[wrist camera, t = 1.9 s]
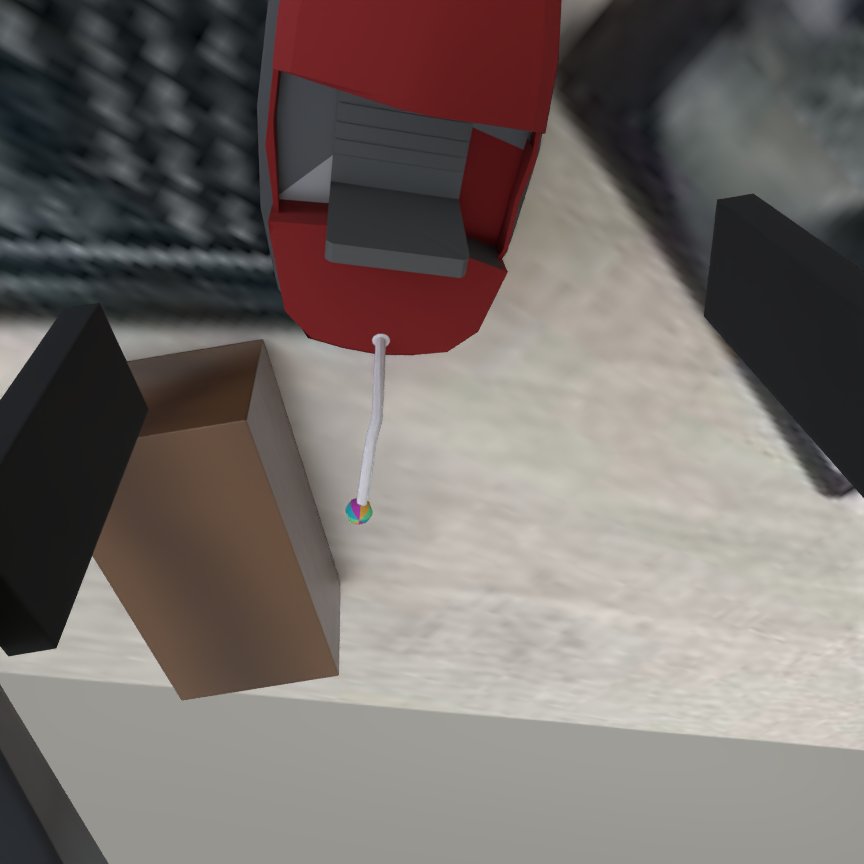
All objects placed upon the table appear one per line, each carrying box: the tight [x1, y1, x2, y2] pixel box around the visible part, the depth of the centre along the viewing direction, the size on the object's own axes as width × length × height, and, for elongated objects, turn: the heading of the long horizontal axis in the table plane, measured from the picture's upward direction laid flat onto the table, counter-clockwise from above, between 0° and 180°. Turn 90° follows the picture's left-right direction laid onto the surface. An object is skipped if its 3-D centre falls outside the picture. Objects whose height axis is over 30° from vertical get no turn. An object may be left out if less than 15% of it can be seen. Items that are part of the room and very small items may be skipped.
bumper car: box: [257, 0, 561, 524], centre depth 22 cm, size 10×20×10 cm, turn 170°
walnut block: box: [92, 340, 340, 700], centre depth 33 cm, size 8×16×6 cm, turn 8°
